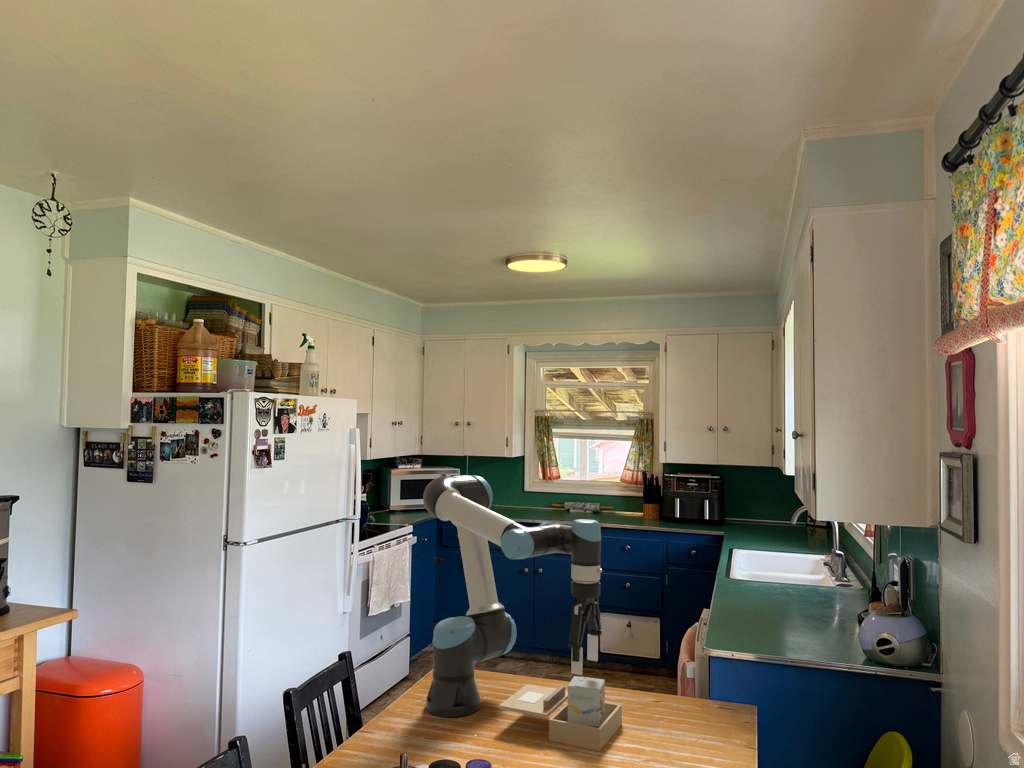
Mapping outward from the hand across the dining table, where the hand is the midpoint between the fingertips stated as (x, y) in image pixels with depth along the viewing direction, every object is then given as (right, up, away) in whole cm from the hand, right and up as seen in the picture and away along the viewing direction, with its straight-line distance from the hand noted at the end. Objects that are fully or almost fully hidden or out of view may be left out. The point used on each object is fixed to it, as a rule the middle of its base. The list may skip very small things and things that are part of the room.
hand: (584, 666), depth 179 cm
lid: (-12, -11, +5) cm, 17 cm away
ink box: (0, -16, -1) cm, 16 cm away
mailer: (0, -16, -2) cm, 16 cm away
